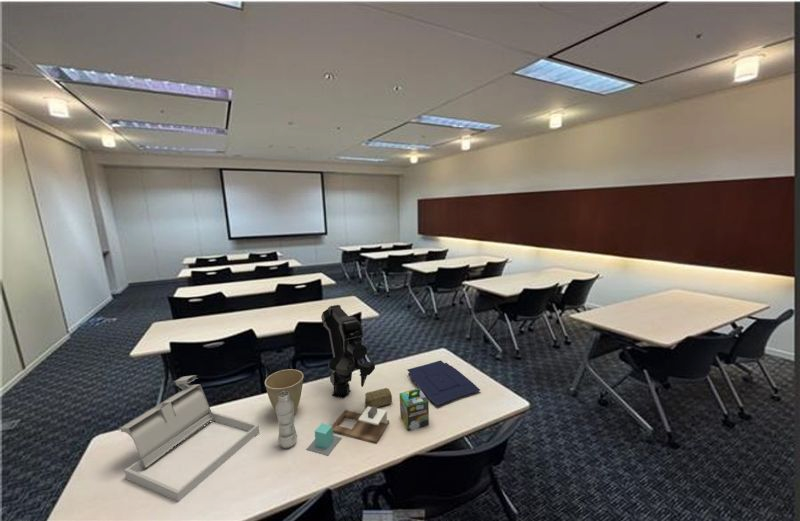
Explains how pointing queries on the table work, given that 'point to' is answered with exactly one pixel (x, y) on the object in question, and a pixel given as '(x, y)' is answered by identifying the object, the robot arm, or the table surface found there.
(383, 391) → the stone block
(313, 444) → the slate mat
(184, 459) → the table surface
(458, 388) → the navy folded cloth
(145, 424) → the skate ramp
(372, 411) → the cover
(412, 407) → the chalk box
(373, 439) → the brown wooden board
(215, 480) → the table surface
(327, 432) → the teal block
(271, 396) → the plant pot
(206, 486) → the table surface
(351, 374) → the robot arm
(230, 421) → the organizer tray
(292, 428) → the plastic bottle
